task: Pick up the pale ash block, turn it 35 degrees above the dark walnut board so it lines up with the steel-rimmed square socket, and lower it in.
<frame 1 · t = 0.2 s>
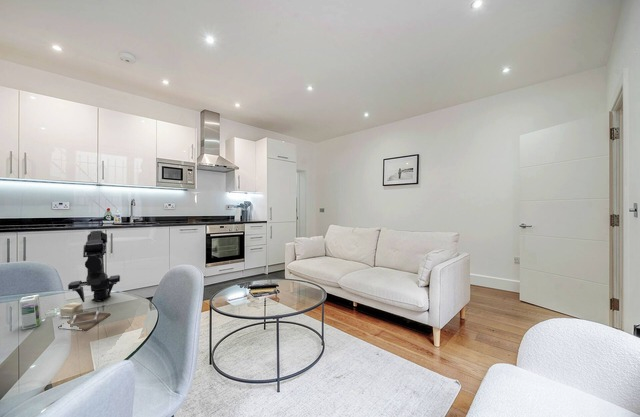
hand: (96, 299, 125), 15 cm above the table, tool pointing down, fingers open, 9 cm apart
syrup box: (32, 325, 126), on the table
ash block: (72, 314, 137), on the table
socket board: (85, 321, 132), on the table
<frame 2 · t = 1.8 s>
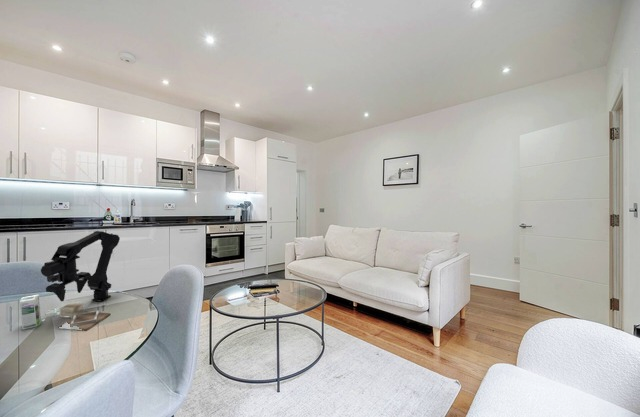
hand: (71, 296, 136), 10 cm above the table, tool pointing down, fingers open, 9 cm apart
nothing on the table moved.
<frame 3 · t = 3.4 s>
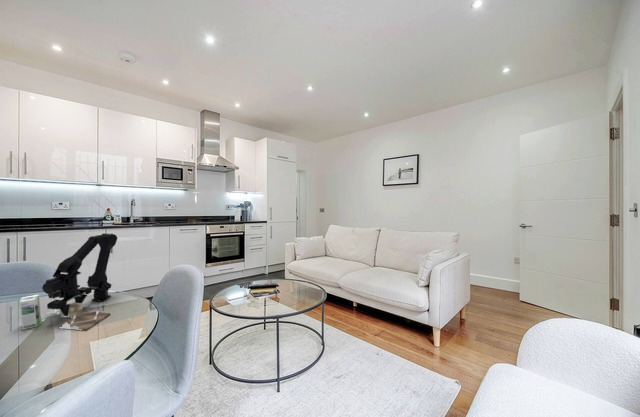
hand: (71, 312, 137), 1 cm above the table, tool pointing down, fingers closed on ash block, 6 cm apart
ash block: (72, 314, 137), on the table, touching gripper
everything else where it was.
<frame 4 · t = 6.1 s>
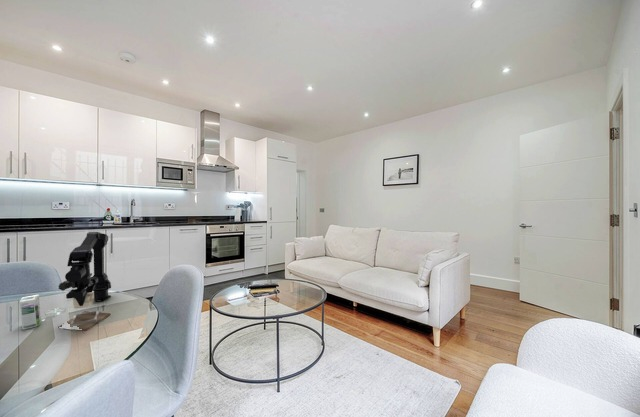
hand: (84, 302, 130), 10 cm above the table, tool pointing down, fingers closed on ash block, 6 cm apart
ash block: (84, 304, 130), point 9 cm above the table, touching gripper
everything else where it was.
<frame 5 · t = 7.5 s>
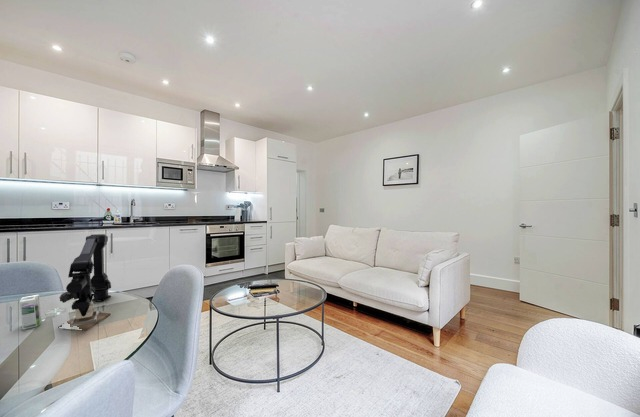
hand: (85, 312, 131), 5 cm above the table, tool pointing down, fingers closed on ash block, 6 cm apart
ash block: (85, 314, 131), point 4 cm above the table, touching gripper
everything else where it was.
when the fingers open (4 cm above the table, at t = 8.6 s): ash block drops 2 cm, resting on socket board.
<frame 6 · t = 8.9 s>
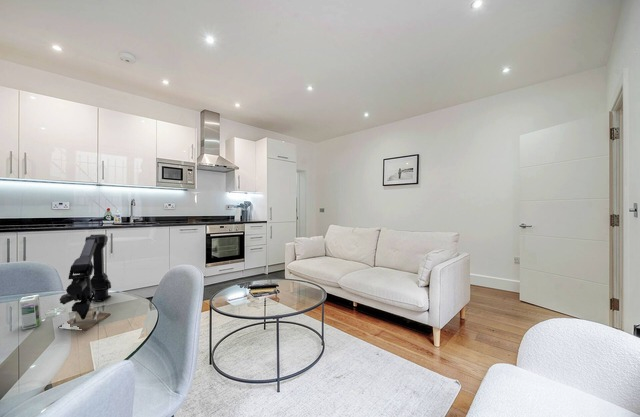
hand: (85, 314, 131), 4 cm above the table, tool pointing down, fingers open, 9 cm apart
ash block: (85, 319, 132), point 1 cm above the table, touching socket board
everything else where it was.
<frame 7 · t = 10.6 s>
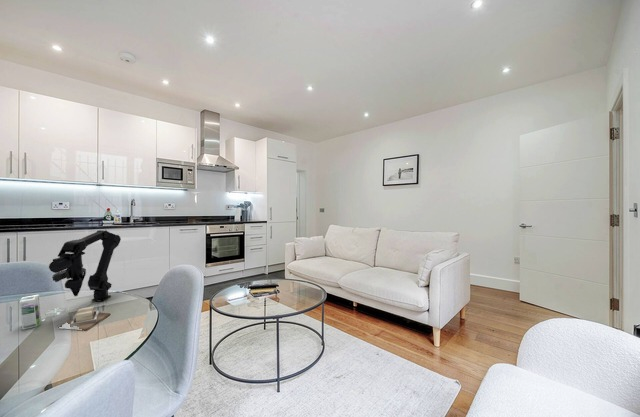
hand: (77, 292, 137), 11 cm above the table, tool pointing down, fingers open, 9 cm apart
nothing on the table moved.
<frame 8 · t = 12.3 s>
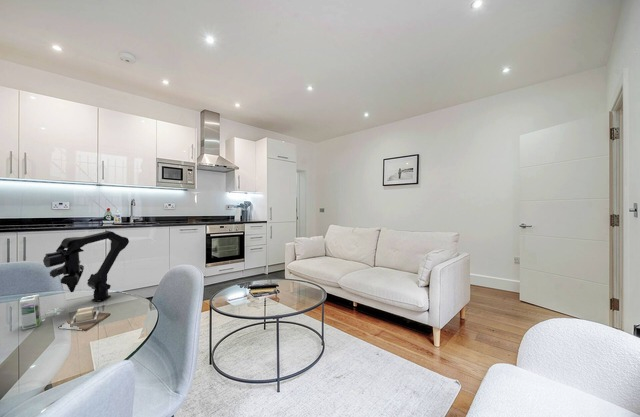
hand: (74, 288, 140), 12 cm above the table, tool pointing down, fingers open, 9 cm apart
nothing on the table moved.
at the end: ash block 0.1 cm off-centre on the socket board, point 1.0 cm above the socket board's base; ash block tilted 0°; the gripper is holding nothing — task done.
